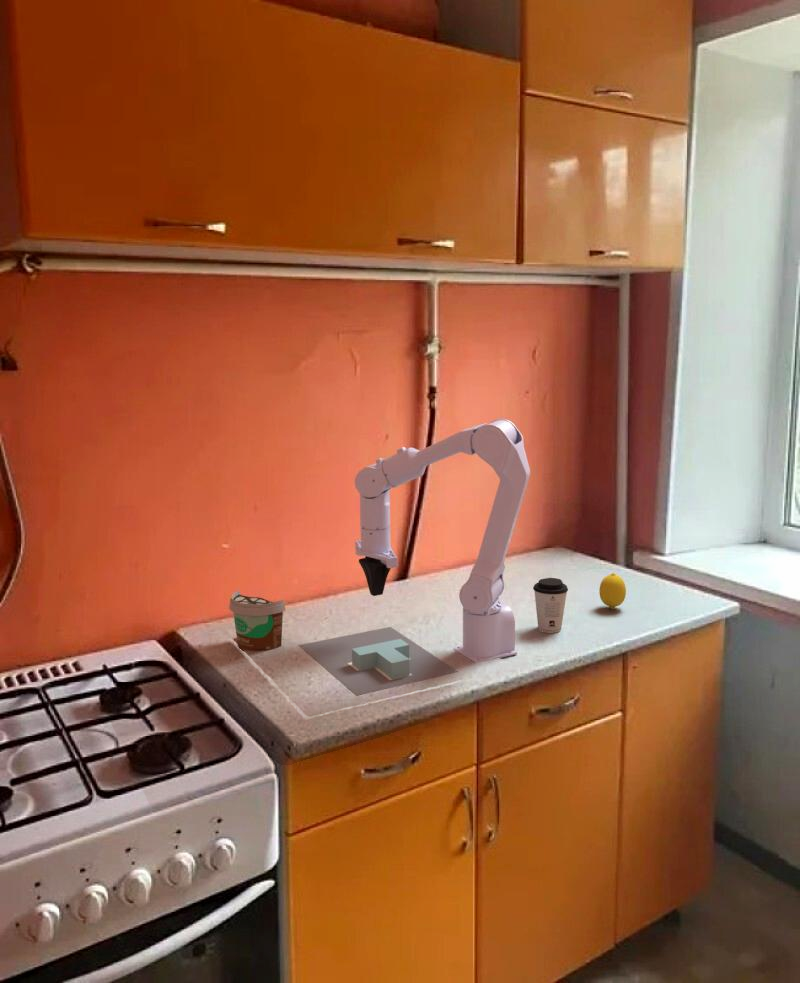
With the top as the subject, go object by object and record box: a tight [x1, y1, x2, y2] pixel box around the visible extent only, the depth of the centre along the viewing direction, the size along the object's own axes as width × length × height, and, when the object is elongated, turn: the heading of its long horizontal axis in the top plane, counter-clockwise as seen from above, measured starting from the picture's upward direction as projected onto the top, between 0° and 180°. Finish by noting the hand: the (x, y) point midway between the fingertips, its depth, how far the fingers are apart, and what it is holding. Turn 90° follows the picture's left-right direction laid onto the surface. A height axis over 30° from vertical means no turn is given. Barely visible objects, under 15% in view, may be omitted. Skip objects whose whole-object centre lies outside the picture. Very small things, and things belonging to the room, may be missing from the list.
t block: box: [352, 639, 410, 679], centre depth 160 cm, size 10×10×3 cm
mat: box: [298, 626, 458, 696], centre depth 165 cm, size 20×26×1 cm
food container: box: [228, 590, 286, 652], centre depth 170 cm, size 12×6×10 cm, turn 56°
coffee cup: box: [532, 577, 569, 634], centre depth 179 cm, size 7×7×10 cm
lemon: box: [599, 572, 627, 610], centre depth 190 cm, size 6×6×8 cm
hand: (376, 594), depth 173 cm, fingers closed
